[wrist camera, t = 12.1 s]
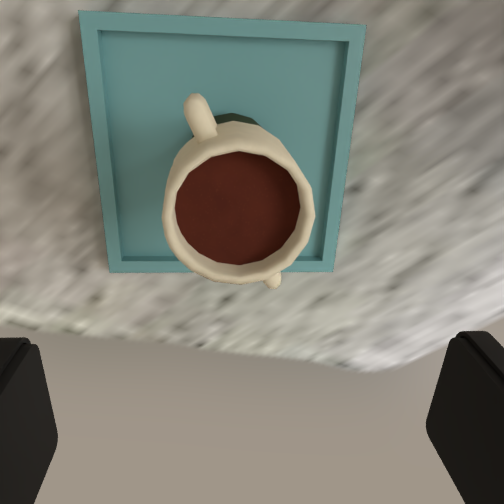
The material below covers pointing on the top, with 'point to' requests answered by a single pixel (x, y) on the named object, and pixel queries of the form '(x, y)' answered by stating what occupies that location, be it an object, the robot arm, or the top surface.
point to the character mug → (235, 200)
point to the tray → (214, 114)
